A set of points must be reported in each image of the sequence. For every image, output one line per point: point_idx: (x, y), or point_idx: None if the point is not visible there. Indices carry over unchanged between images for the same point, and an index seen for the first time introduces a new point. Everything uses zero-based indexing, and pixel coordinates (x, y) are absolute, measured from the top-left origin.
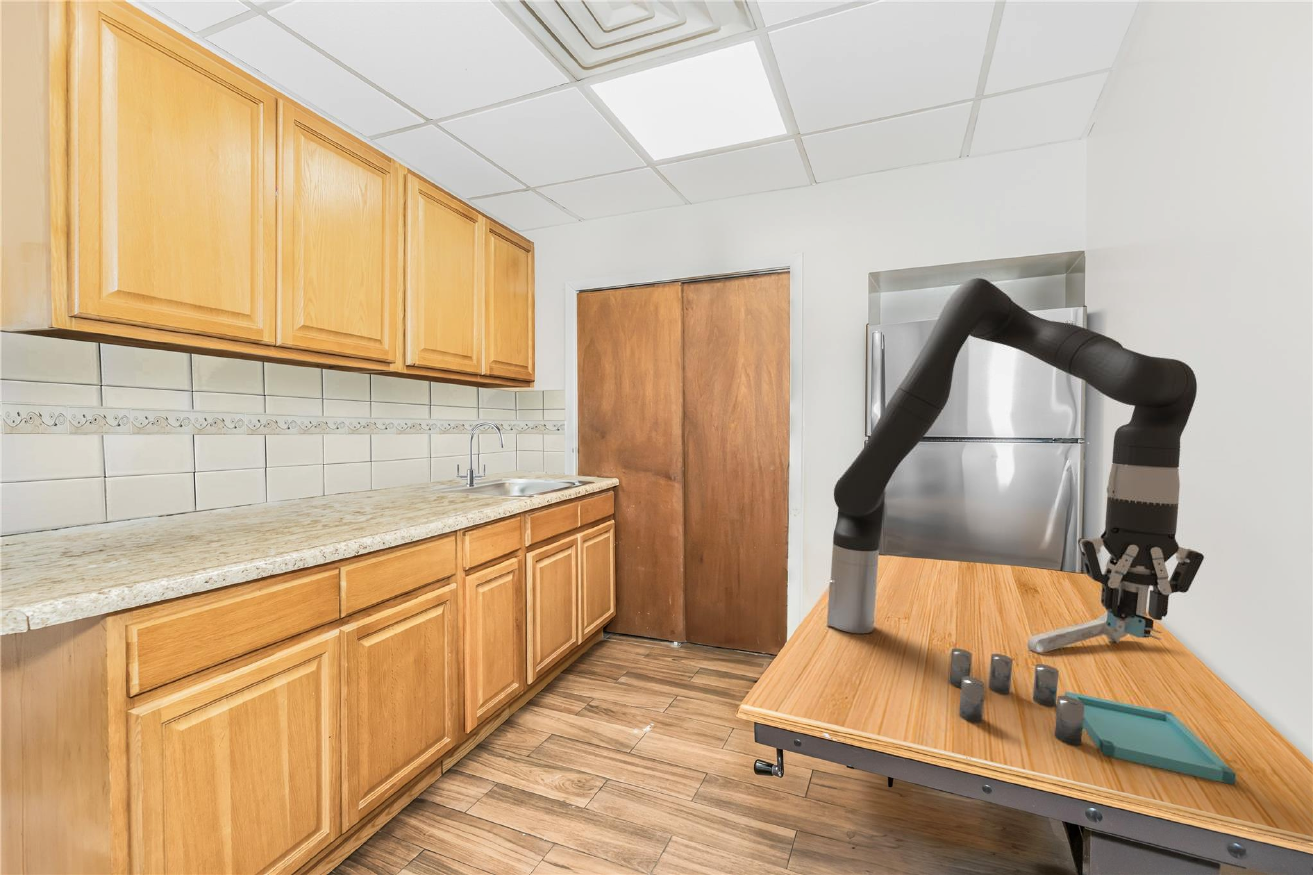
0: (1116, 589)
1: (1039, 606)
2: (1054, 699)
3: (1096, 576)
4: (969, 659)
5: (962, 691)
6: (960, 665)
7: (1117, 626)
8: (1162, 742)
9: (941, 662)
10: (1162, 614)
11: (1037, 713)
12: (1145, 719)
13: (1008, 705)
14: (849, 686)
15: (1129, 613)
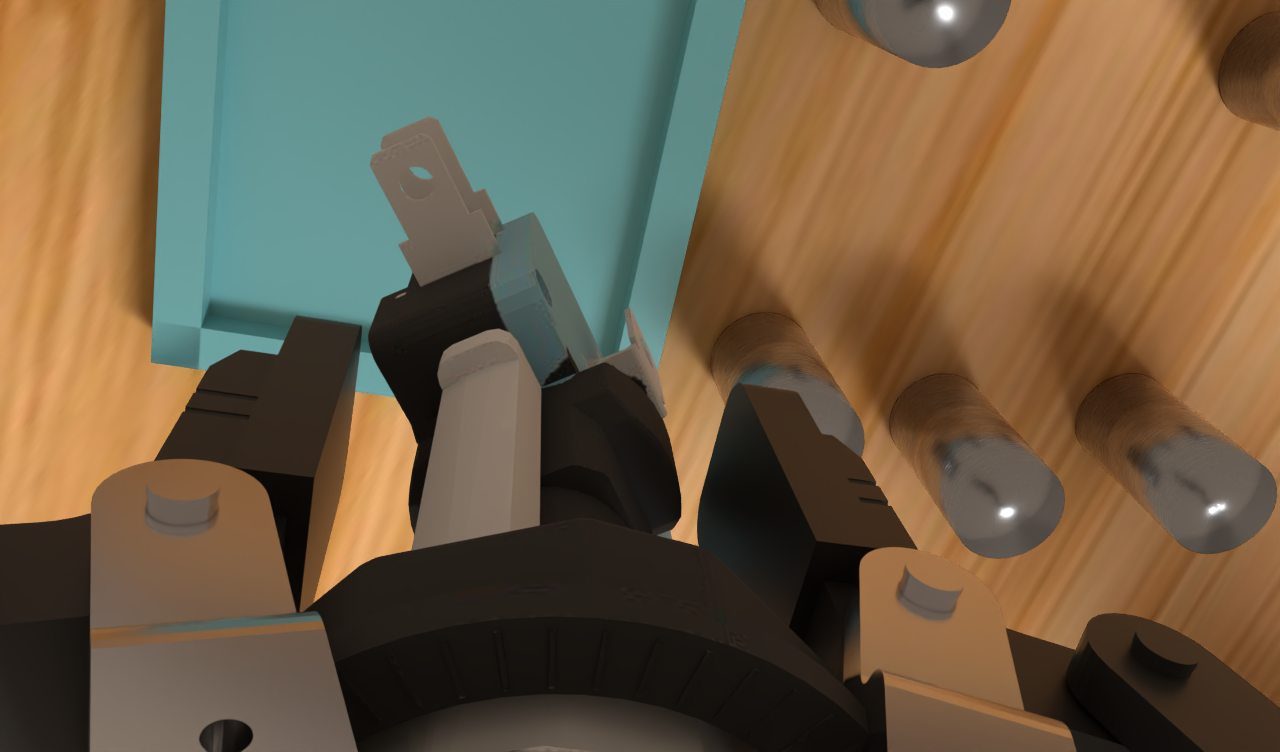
0: (842, 545)
1: None
2: (745, 335)
3: (1192, 669)
4: (1195, 456)
5: None
6: (1217, 432)
7: (654, 372)
8: (370, 47)
9: (1078, 628)
10: (264, 367)
11: (870, 220)
12: (318, 291)
13: (982, 262)
14: None
15: (615, 380)
